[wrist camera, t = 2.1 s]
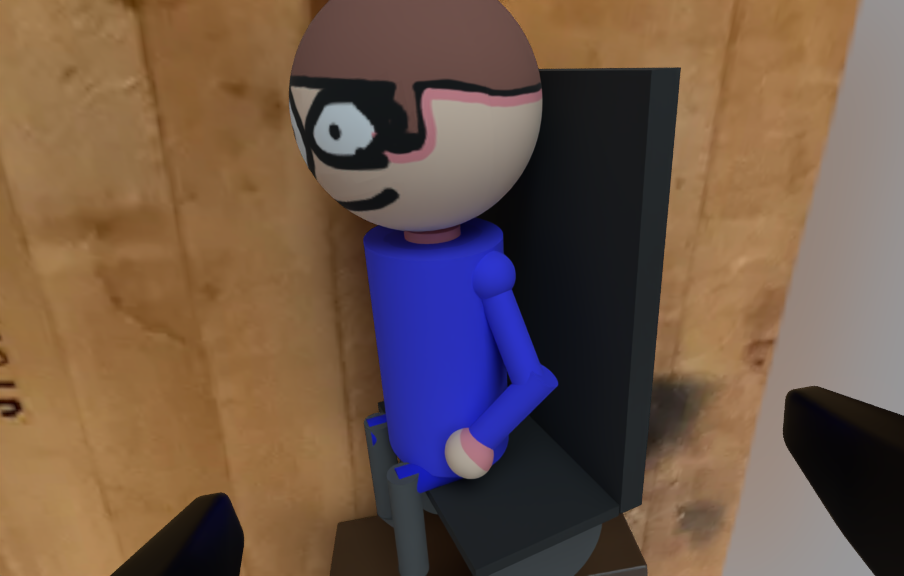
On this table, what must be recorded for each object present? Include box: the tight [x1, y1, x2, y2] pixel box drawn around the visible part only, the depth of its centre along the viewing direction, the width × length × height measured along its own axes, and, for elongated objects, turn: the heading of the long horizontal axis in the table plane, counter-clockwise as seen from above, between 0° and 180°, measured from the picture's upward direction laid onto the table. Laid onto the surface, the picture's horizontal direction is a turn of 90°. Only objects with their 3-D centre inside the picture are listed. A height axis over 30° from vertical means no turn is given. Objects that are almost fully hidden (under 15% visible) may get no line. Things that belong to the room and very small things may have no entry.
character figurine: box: [289, 0, 681, 576], centre depth 13 cm, size 8×7×15 cm
